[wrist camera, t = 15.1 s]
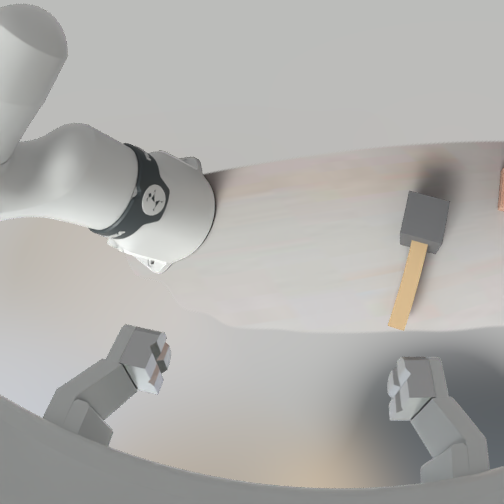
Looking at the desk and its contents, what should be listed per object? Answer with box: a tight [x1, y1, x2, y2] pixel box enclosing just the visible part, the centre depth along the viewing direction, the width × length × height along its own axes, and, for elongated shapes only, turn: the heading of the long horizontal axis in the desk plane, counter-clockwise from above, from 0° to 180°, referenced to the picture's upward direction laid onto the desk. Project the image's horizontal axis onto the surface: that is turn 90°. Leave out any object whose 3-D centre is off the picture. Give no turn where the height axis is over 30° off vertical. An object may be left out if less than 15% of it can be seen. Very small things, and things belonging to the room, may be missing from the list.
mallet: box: [388, 191, 450, 331], centre depth 30 cm, size 4×13×6 cm, turn 161°
